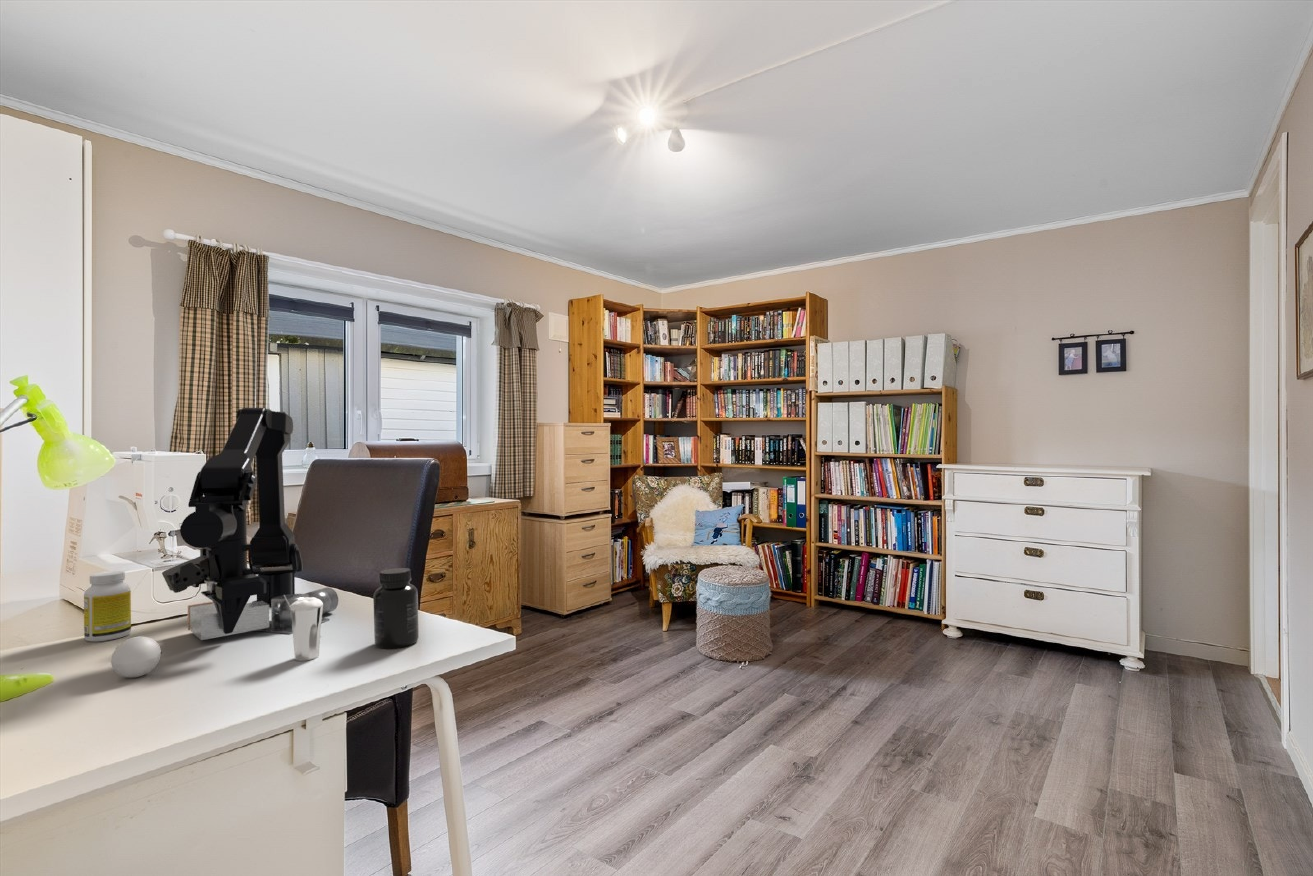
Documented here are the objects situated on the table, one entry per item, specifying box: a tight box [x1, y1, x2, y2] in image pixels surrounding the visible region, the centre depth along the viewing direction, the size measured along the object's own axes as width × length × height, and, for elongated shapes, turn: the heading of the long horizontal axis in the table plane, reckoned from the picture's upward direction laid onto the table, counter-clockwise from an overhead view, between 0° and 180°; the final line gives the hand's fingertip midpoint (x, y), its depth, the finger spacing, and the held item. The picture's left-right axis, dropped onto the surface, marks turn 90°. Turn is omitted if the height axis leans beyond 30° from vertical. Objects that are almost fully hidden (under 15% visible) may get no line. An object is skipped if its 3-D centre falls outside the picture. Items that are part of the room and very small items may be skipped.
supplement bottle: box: [372, 567, 420, 650], centre depth 107 cm, size 7×7×12 cm
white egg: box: [110, 635, 163, 679], centre depth 94 cm, size 8×6×6 cm
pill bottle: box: [83, 570, 132, 643], centre depth 112 cm, size 6×6×11 cm
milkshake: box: [284, 595, 323, 662], centre depth 100 cm, size 4×5×10 cm
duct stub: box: [252, 586, 339, 635], centre depth 121 cm, size 14×9×5 cm, turn 164°
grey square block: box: [187, 601, 270, 641], centre depth 114 cm, size 10×10×4 cm
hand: (228, 633), depth 108 cm, fingers closed
